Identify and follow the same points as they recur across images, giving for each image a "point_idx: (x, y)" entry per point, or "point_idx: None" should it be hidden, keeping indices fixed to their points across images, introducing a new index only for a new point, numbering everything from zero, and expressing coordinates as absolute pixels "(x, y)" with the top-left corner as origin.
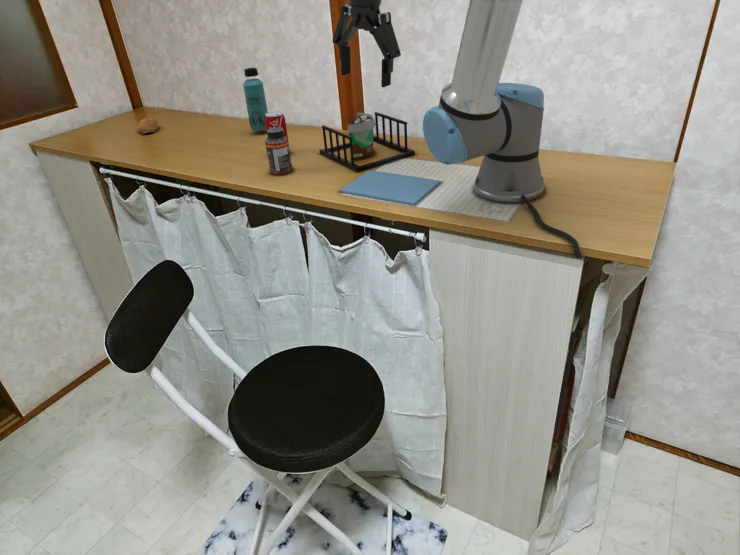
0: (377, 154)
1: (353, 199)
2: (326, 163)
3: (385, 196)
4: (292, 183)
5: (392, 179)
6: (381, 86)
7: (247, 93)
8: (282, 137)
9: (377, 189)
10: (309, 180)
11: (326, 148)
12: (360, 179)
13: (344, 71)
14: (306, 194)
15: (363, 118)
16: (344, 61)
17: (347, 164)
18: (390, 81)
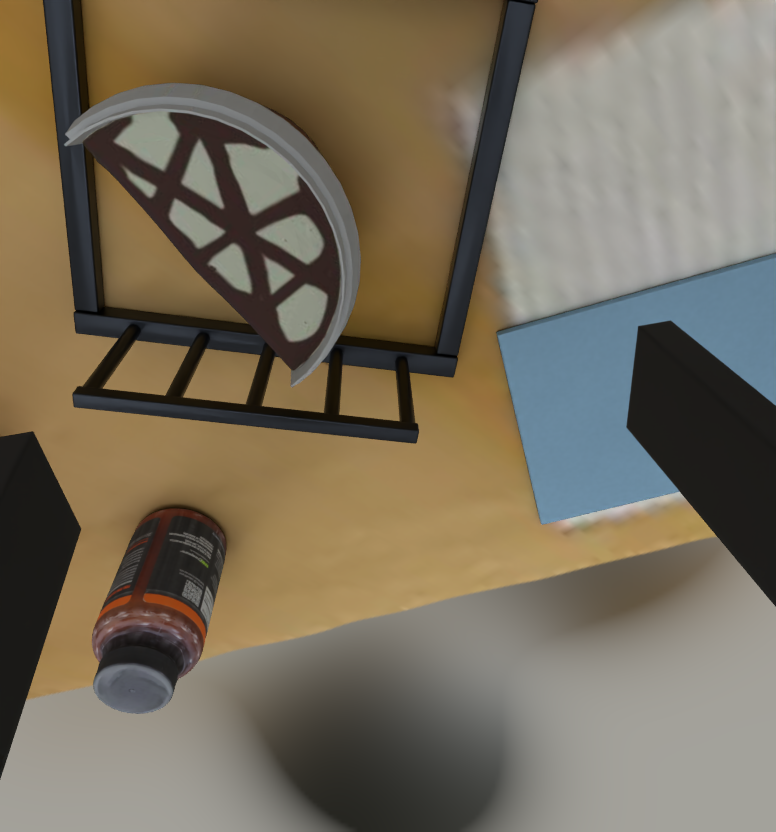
0: (337, 126)
1: (628, 526)
2: (239, 383)
3: None
4: (329, 570)
5: None
6: (628, 427)
7: None
8: (179, 651)
9: None
10: (355, 524)
11: (134, 339)
12: (541, 426)
13: (65, 543)
14: (454, 587)
15: (182, 164)
16: (30, 636)
17: (366, 364)
18: (688, 339)
